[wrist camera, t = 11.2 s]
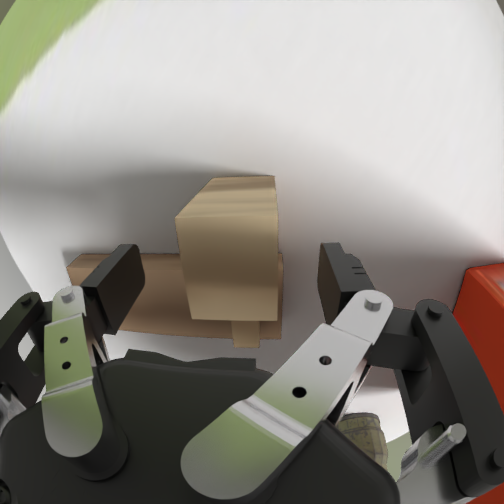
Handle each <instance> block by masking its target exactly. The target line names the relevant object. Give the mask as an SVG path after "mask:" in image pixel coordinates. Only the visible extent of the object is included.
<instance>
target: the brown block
mask: <svg viewBox="0 0 504 504" xmlns="http://www.w3.org/2000/svg"><path fill="white" fill-rule="evenodd" d="M110 255H111V254H81V255H80V256H79V257H78V258H76V259H75V260H74V261H73V262H72V263H71V264H70V265H69V266H67V267H66V268H67V271H68V274H69V277H70V280H71V283H72V286H79V285H80V284H81V283H82V282H83V281H84V280H85V279H86V278H87V277H88V275H89V274H90V273H92V271H93V270H94V269H95V268H97V266H98V265H99V264H100V262H101V261H102V260H104V259H105V258H107V257H109V256H110ZM140 256H141V260H142V265H143V269H144V273H145V285H144V288H143V290H142V291H141V293H140V294H139V296H138V298H137V299H136V301H135V303H134V304H133V306H132V307H131V309H130V311H129V312H128V314H127V316H126V317H125V319H124V321H123V323H122V324H121V326H120V328H119V329H118V330H125V331H134V332H143V333H153V334H163V335H176V336H190V337H207V338H231V339H233V335H232V326H231V320H203V319H192V317H191V312H190V307H189V302H188V297H187V292H186V286H185V281H184V275H183V270H182V264H181V258H180V254H140ZM282 296H283V262H282V253H278V307H277V321H259V325H260V339H281V326H282Z"/></svg>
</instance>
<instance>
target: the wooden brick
mask: <svg viewBox="0 0 504 504" xmlns="http://www.w3.org/2000/svg"><path fill="white" fill-rule="evenodd" d="M174 219H175V226H176V233H177V239H178V246H179V252H180V258H181V264H182V270H183V275H184V281H185V286H186V292H187V297H188V302H189V307H190V312H191V317H192V319H203V320H231V326H232V335H233V344H234V347H240V348H259V345H260V325H259V321H277V307H278V210H277V199H276V188H275V178H274V176H244V177H219V178H212V179H211V180H210V181H209V182H208V183H207V184H206V185H205V186H204V187H203V188H202V189H201V190H200V191H199V192H198V193H197V195H196V196H195V197H194V198H193V199H192V200H191V201H190V202H189V203H188V204H187V205H186V206H185V207H184V208H183V209H182V210H181V212H180V213H179V214H178V215H177V216H176V217H175V218H174Z"/></svg>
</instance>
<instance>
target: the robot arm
mask: <svg viewBox="0 0 504 504" xmlns="http://www.w3.org/2000/svg"><path fill="white" fill-rule="evenodd" d="M317 283H318V291H319V295H320V299H321V303H322V307H323V311H324V316H325V320H326V323H322V324H321V325H320V326H319V327H318V328H317V329H316V330H315V331H314V332H313V333H312V334H311V336H310V337H309V338H308V339H307V340H306V341H305V342H304V343H303V344H302V345H301V346H300V348H299V349H298V350H297V351H296V352H295V353H294V354H293V355H292V356H291V357H290V358H289V359H288V360H287V361H286V362H285V363H284V364H283V365H282V366H281V367H280V368H279V369H278V370H277V371H276V372H275V374H272V373H270V372H267V371H264V370H260V369H256V359H251V358H215V359H208V360H200V361H192V362H184V361H180V360H177V359H174V358H171V357H168V356H165V355H162V354H159V353H156V352H148V351H140V350H133V349H128V351H127V353H126V355H125V357H124V358H119V359H114V360H110V358H109V355H108V352H107V348H106V344H105V341H104V339H103V337H102V336H103V334H111V335H116V333H117V331H118V329H119V328H120V326H121V324H122V323H123V321H124V319H125V317H126V316H127V314H128V312H129V311H130V309H131V307H132V306H133V304H134V303H135V301H136V299H137V298H138V296H139V294H140V293H141V291H142V290H143V288H144V285H145V273H144V269H143V265H142V260H141V256H140V252H139V248H138V246H137V245H136V244H123V245H120V246H118V248H117V249H116V250H115V251H114V252H113V253H112V254H111V255H110V256H109V257H107V258H105V259H104V260H102V261H101V262H100V264H99V265H98V266H97V268H95V269H94V270H93V271H92V273H90V274H89V275H88V277H87V278H86V279H85V280H84V281H83V282H82V283H81V284H80V285H79V286H69V287H66V288H64V289H62V290H60V291H59V292H58V293H56V295H55V296H54V298H53V301H49V302H42V300H41V297H40V295H39V293H37V292H30V293H27V294H25V295H23V296H22V297H20V298H19V299H18V300H17V301H16V302H15V303H14V305H13V306H12V307H11V308H10V309H9V310H8V311H7V313H6V314H5V315H4V316H3V317H2V319H1V320H0V504H466V503H468V502H470V501H472V500H474V499H476V498H478V497H479V496H481V495H483V494H485V493H487V492H489V491H490V490H492V489H494V488H495V487H497V486H499V485H500V484H502V483H503V482H504V414H503V411H502V409H501V407H500V404H499V402H498V399H497V397H496V395H495V393H494V390H493V388H492V386H491V384H490V382H489V380H488V377H487V375H486V373H485V371H484V369H483V367H482V365H481V363H480V361H479V359H478V358H477V356H476V354H475V352H474V350H473V348H472V346H471V345H470V343H469V341H468V339H467V338H466V336H465V334H464V332H463V331H462V329H461V327H460V326H459V324H458V322H457V321H456V319H455V317H454V316H453V314H452V312H451V311H450V309H449V308H448V307H447V306H446V305H444V304H443V303H441V302H439V301H436V300H431V299H425V300H422V301H420V302H418V304H417V305H416V308H415V311H412V310H406V309H400V308H396V307H393V302H392V300H391V299H390V298H389V297H388V296H387V295H385V294H384V293H382V292H379V291H376V290H375V288H374V286H373V284H372V283H371V281H370V279H369V277H368V275H367V274H366V271H365V270H364V268H363V266H362V264H361V262H360V261H359V260H358V259H357V258H356V257H354V256H353V255H352V254H345V253H344V251H343V249H342V247H341V245H340V243H321V246H320V256H319V267H318V278H317ZM27 332H28V334H29V335H30V338H31V339H32V341H33V343H34V344H35V346H34V347H33V349H32V350H31V352H30V353H29V355H28V356H27V358H26V360H25V361H23V360H22V358H21V357H20V355H19V353H18V345H19V343H20V341H21V340H22V338H23V337H24V336H25V334H26V333H27ZM372 366H378V367H385V368H392V369H394V373H395V376H396V379H397V383H398V387H399V390H400V394H401V398H402V402H403V406H404V410H405V414H406V418H407V422H408V426H409V431H410V435H411V440H412V446H411V447H410V448H409V449H408V450H407V451H406V452H405V454H404V456H403V458H402V462H401V474H400V477H399V479H398V480H397V482H395V480H394V479H393V478H392V476H391V475H390V474H389V472H388V471H386V470H385V469H384V468H383V467H382V466H380V465H379V464H378V463H377V462H376V461H374V460H373V459H372V458H371V457H370V456H368V455H367V454H366V453H365V452H364V451H363V450H361V449H360V448H359V447H358V446H357V445H356V444H354V443H353V442H352V441H351V440H350V439H349V438H348V437H346V436H345V435H344V434H343V433H342V432H341V431H340V430H339V429H337V428H336V426H337V425H338V423H339V422H340V420H341V419H342V417H343V415H344V414H345V412H346V410H347V408H348V406H349V405H350V403H351V401H352V400H353V398H354V396H355V395H356V393H357V392H358V390H359V388H360V387H361V385H362V383H363V382H364V380H365V378H366V376H367V375H368V373H369V371H370V369H371V368H372ZM45 384H46V393H45V394H44V395H43V396H42V400H41V401H39V402H37V403H36V401H37V399H38V397H39V395H40V393H41V391H42V389H43V387H44V386H45ZM35 403H36V404H35Z"/></svg>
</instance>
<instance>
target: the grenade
mask: <svg viewBox="0 0 504 504" xmlns="http://www.w3.org/2000/svg"><path fill="white" fill-rule="evenodd" d="M336 428H337V429H339V430H340V431H341V432H342V433H343V434H344V435H345V436H346V437H348V438H349V439H350V440H351V441H352V442H353V443H354V444H356V445H357V446H358V447H359V448H360V449H361V450H363V451H364V452H365V453H366V454H367V455H368V456H370V457H371V458H372V459H373V460H374V461H376V462H377V463H378V464H379V465H380V466H382V467H383V468H384V469H385V470H386V471H388V470H387V465H386V464H387V458H388V449H387V445H386V440H385V436H384V433H383V431H382V430H381V427H380V421H379V418H378V416H377V415H375V414H373V413H355V414H350V415H346V416H343V417H342V419H341V420H340V422H339V423H338V425H337V426H336Z"/></svg>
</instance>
